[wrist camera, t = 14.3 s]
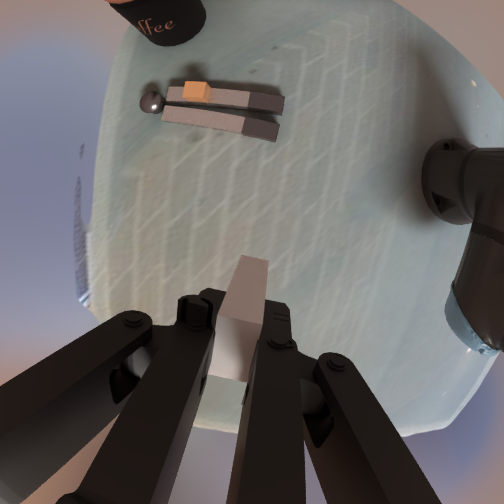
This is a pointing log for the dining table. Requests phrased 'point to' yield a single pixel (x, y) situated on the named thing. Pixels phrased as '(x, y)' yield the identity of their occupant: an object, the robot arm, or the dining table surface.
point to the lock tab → (196, 91)
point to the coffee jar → (163, 18)
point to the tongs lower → (216, 100)
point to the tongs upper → (221, 122)
